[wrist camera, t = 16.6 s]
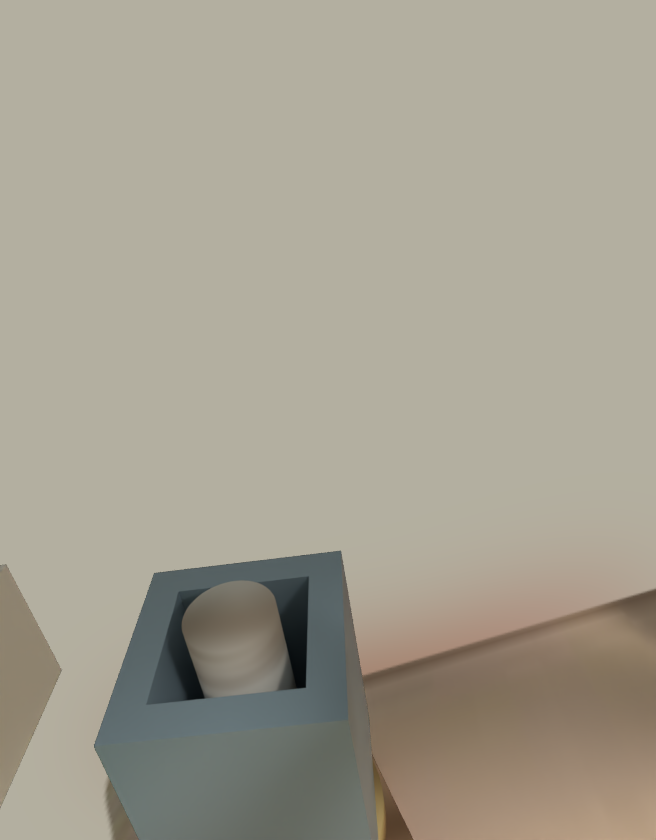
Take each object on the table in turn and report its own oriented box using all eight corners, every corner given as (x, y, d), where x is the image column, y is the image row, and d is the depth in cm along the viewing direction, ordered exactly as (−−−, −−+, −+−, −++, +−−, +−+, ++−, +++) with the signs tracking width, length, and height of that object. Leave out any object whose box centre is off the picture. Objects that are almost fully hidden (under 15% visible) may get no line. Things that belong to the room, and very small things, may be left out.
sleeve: (383, 902, 25) (348, 719, 20) (177, 920, 26) (93, 746, 21) (368, 717, 33) (341, 551, 28) (210, 733, 33) (154, 573, 28)
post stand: (456, 942, 29) (429, 663, 20) (221, 1072, 26) (81, 810, 18) (361, 742, 38) (316, 496, 30) (181, 822, 35) (78, 576, 27)
